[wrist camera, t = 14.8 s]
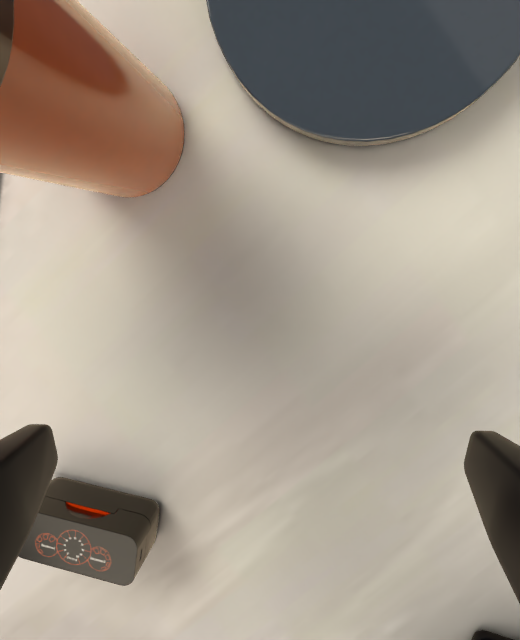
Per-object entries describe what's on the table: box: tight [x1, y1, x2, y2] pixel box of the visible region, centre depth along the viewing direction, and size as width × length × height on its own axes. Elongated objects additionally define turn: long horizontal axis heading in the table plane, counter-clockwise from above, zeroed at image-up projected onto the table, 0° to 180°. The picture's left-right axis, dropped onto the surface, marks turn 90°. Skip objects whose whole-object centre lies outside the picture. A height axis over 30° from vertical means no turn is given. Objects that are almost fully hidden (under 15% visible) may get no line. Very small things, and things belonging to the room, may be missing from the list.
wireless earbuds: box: [18, 477, 159, 586], centre depth 22 cm, size 5×7×3 cm, turn 81°
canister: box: [0, 0, 184, 197], centre depth 13 cm, size 6×6×13 cm
